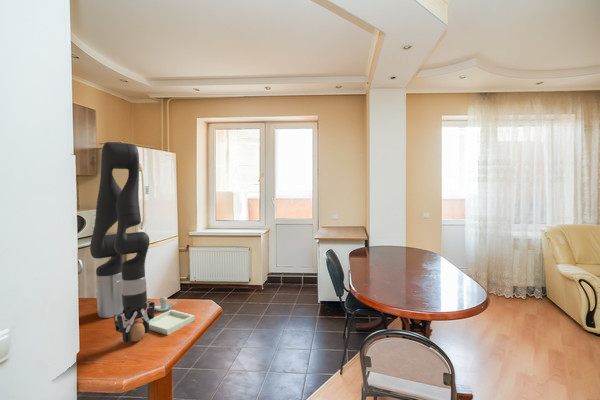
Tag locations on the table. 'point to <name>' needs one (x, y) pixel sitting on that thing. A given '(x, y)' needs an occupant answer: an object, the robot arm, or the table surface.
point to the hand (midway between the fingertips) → (136, 337)
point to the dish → (170, 321)
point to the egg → (136, 331)
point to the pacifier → (163, 305)
